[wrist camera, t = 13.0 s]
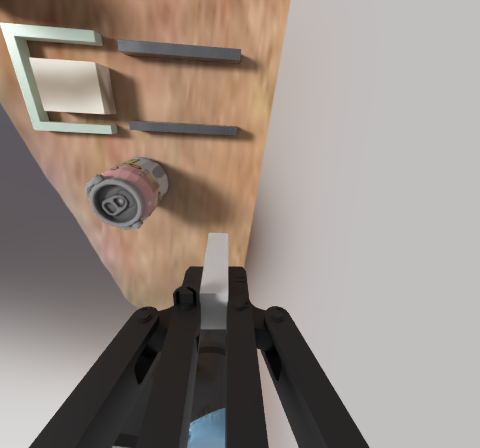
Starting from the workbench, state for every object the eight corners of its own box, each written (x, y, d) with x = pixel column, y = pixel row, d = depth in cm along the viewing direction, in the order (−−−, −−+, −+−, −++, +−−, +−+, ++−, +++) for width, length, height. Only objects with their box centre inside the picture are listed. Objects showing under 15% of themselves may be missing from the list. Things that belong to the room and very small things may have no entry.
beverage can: (138, 212, 42) (108, 246, 32) (106, 173, 39) (59, 197, 28) (179, 188, 41) (162, 216, 30) (149, 146, 37) (117, 159, 27)
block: (117, 114, 35) (104, 114, 32) (63, 110, 35) (44, 110, 31) (109, 67, 33) (94, 62, 29) (50, 63, 32) (28, 57, 28)
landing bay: (117, 133, 36) (112, 134, 34) (43, 129, 35) (34, 130, 34) (101, 35, 31) (93, 30, 29) (13, 27, 30) (-1, 22, 28)
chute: (236, 134, 37) (236, 135, 35) (136, 128, 36) (130, 129, 34) (240, 53, 32) (241, 49, 30) (124, 44, 31) (116, 39, 29)
